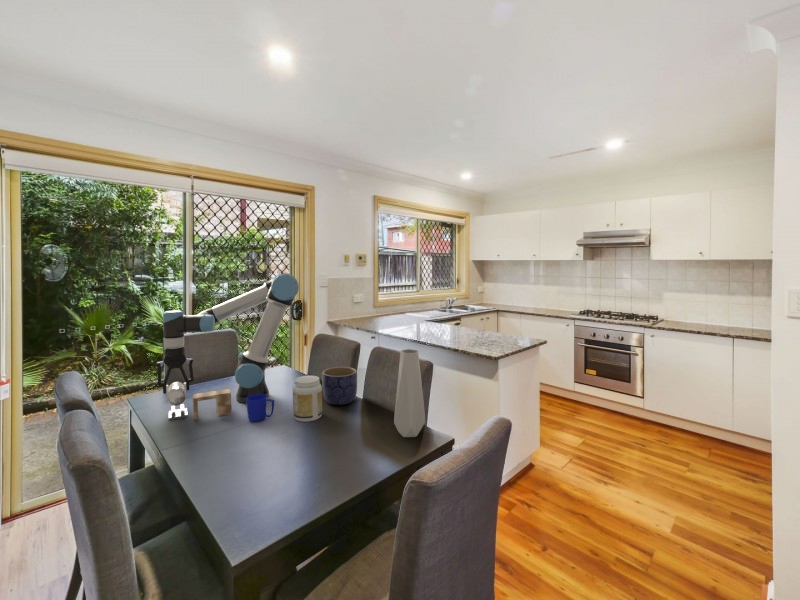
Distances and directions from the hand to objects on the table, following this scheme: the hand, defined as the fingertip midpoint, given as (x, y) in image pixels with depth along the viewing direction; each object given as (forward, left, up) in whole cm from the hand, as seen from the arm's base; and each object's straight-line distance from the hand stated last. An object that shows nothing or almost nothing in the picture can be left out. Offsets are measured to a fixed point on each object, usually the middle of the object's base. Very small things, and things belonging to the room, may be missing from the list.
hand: (176, 398), depth 163 cm
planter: (-67, +21, -7) cm, 71 cm away
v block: (0, 0, -7) cm, 7 cm away
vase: (-76, +67, -7) cm, 102 cm away
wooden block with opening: (-13, +7, -7) cm, 17 cm away
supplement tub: (-48, +31, -7) cm, 58 cm away
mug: (-30, +24, -7) cm, 39 cm away
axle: (0, 0, +3) cm, 3 cm away
